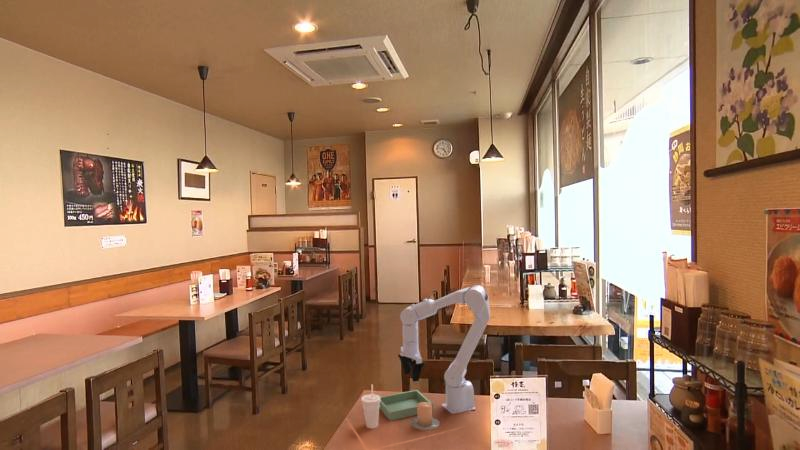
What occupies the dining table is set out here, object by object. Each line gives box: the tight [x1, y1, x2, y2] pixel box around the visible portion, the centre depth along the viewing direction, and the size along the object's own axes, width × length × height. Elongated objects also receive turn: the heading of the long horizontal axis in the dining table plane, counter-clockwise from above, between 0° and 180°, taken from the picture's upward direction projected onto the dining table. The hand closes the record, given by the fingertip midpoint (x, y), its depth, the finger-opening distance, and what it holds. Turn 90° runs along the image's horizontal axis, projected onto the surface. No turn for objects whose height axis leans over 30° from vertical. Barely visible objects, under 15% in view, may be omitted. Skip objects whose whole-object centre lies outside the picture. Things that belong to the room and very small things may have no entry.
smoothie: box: [360, 384, 382, 429], centre depth 140 cm, size 6×6×14 cm
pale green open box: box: [379, 389, 434, 422], centre depth 152 cm, size 16×13×3 cm
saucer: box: [411, 417, 440, 431], centre depth 141 cm, size 9×9×1 cm
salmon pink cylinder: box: [416, 402, 433, 427], centre depth 141 cm, size 5×5×6 cm
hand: (411, 377), depth 157 cm, fingers open, 7 cm apart
